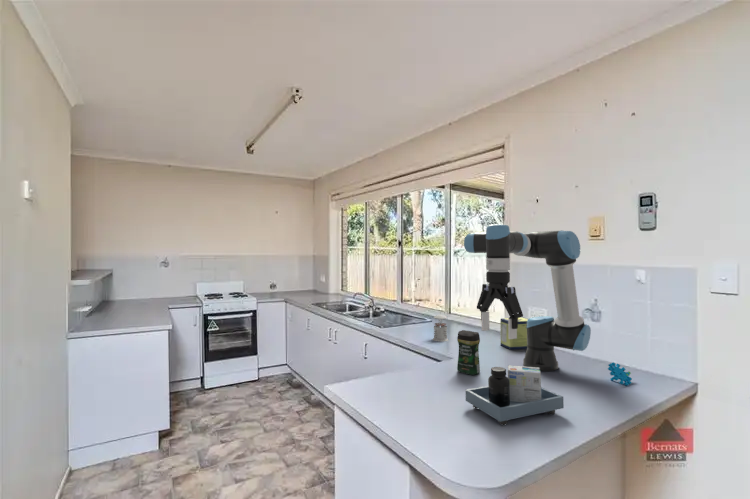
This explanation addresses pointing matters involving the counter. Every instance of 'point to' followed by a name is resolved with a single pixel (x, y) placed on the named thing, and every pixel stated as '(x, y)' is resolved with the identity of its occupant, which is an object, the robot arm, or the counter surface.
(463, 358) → the coffee jar
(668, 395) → the counter surface
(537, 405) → the tote
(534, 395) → the light bulb box
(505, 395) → the supplement bottle
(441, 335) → the french press
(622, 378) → the gear
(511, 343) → the protein box
